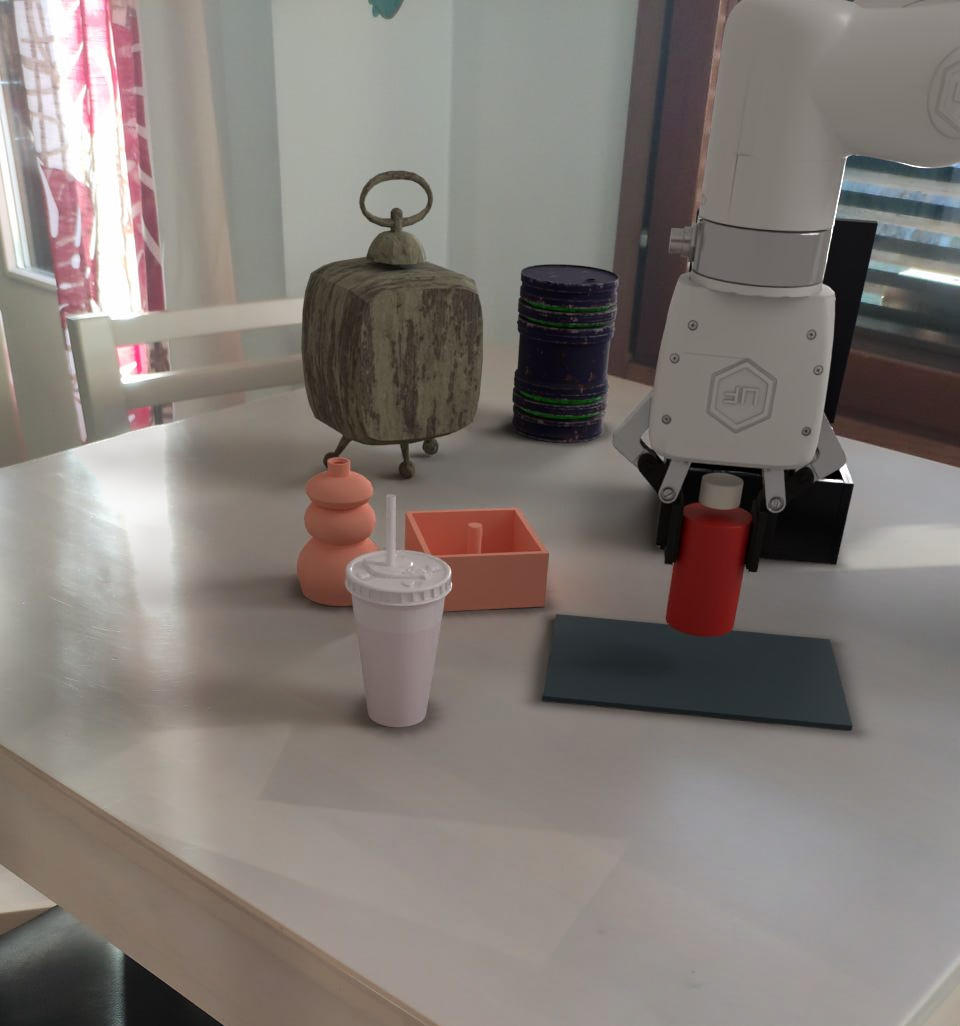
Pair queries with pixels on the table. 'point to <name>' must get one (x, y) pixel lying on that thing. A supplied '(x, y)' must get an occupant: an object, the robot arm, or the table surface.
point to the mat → (695, 672)
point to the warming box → (791, 511)
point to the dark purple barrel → (563, 351)
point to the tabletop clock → (392, 341)
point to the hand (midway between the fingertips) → (710, 557)
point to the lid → (844, 294)
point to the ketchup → (710, 559)
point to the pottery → (421, 546)
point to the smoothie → (397, 625)
